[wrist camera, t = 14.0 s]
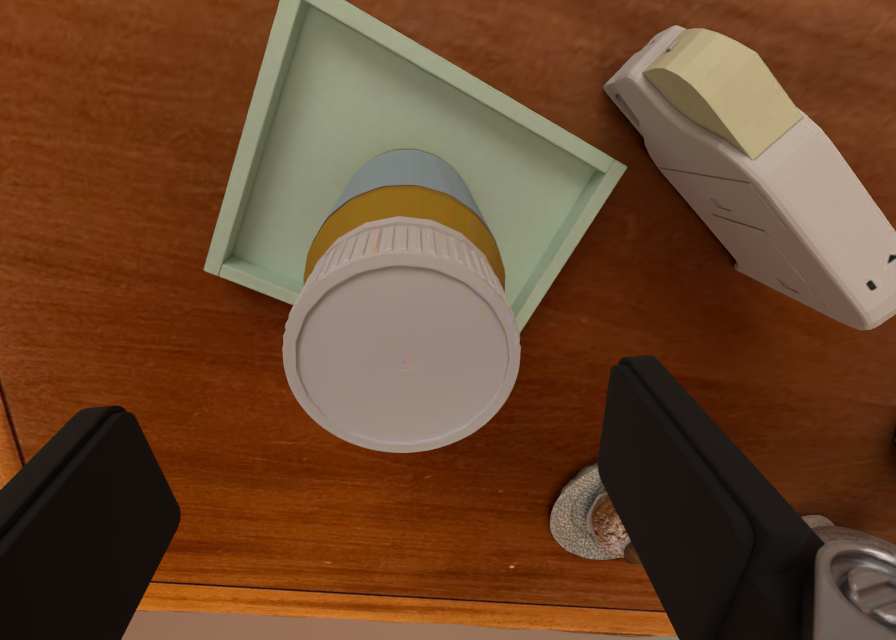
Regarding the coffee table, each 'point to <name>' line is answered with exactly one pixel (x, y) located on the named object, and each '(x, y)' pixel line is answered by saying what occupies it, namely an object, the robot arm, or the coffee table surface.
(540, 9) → the coffee table surface
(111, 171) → the coffee table surface
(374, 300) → the bottle
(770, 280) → the light grey boxy piece
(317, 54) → the tray
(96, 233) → the coffee table surface
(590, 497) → the pastry
